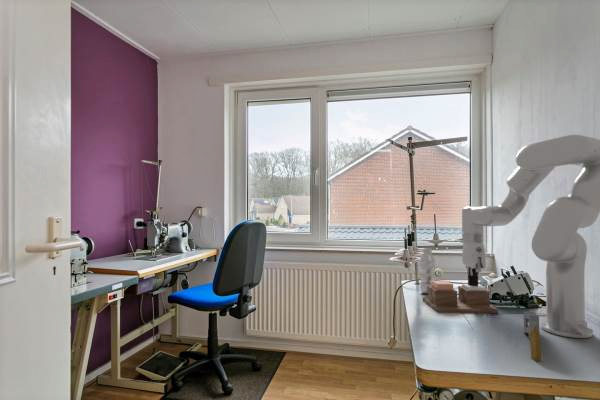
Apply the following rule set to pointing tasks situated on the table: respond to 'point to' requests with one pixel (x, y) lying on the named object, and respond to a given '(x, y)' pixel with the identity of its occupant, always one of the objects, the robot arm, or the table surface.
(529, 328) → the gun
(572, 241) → the robot arm
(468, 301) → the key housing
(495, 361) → the table surface
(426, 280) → the plastic bottle
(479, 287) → the white square block
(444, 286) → the terracotta key
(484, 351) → the table surface
